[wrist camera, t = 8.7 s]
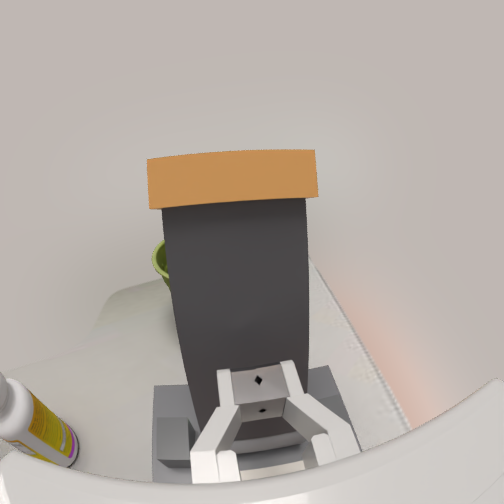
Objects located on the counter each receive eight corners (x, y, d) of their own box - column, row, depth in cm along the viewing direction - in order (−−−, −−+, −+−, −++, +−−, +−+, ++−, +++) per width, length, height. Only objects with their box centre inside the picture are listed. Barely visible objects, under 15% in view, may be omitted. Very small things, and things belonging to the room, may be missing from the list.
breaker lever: (311, 449, 13) (314, 149, 11) (202, 465, 12) (147, 159, 10) (300, 424, 16) (296, 160, 13) (202, 438, 15) (159, 168, 12)
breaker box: (338, 497, 16) (389, 476, 10) (186, 519, 14) (140, 515, 8) (310, 409, 25) (334, 346, 19) (179, 425, 23) (144, 368, 17)
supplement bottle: (63, 413, 22) (0, 345, 15) (90, 453, 18) (15, 395, 11) (30, 437, 17) (-40, 375, 10) (53, 480, 14) (-30, 429, 7)
